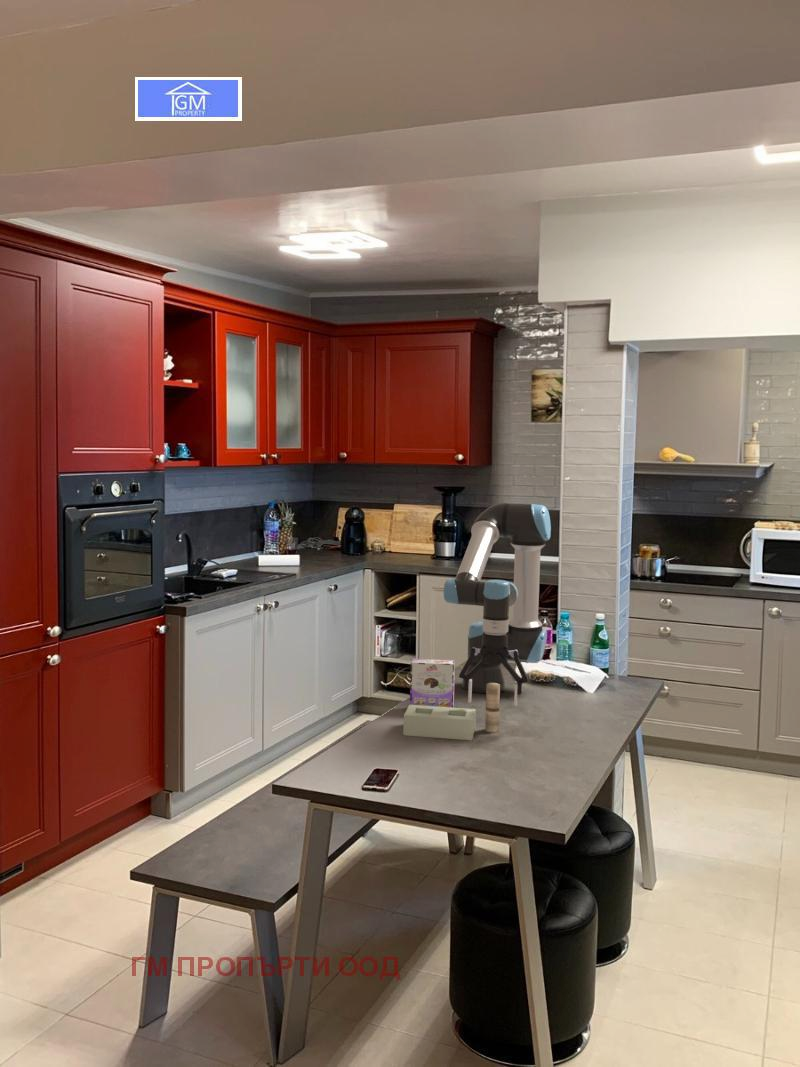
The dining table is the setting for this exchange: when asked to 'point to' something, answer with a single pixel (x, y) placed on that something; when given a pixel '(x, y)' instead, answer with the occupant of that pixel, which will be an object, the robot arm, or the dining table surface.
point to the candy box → (432, 682)
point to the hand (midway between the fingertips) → (492, 703)
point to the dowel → (492, 707)
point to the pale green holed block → (439, 722)
